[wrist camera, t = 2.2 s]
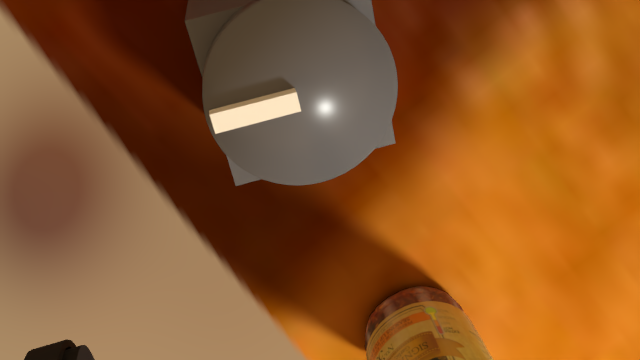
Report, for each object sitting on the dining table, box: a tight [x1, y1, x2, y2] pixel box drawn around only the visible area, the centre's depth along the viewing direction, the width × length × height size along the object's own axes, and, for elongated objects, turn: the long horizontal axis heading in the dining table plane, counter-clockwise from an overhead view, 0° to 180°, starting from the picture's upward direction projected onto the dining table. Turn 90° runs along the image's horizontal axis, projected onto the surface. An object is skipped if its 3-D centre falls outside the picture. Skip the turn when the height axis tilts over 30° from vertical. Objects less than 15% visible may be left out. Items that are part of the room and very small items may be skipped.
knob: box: [185, 0, 398, 186], centre depth 24 cm, size 7×7×8 cm
